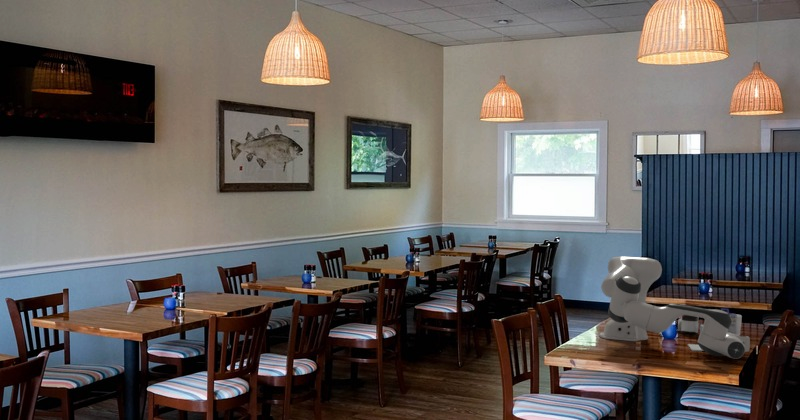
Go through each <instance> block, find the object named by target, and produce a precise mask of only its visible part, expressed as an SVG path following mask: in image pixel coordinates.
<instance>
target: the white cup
mask: <svg viewBox="0 0 800 420" xmlns="http://www.w3.org/2000/svg"><path fill="white" fill-rule="evenodd" d="M735 314H736V313H735ZM736 315H737V321H736V335H741V330H742V329H741V328H742V317H743V316H742V315H741V314H736Z"/></svg>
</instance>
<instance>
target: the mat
mask: <svg viewBox="0 0 800 420" xmlns="http://www.w3.org/2000/svg"><path fill="white" fill-rule="evenodd" d="M687 347H688V348H689V347H690V348H689V349H690V350H691V351H692V352H702V351H703V350H702V349H701V348H700V347H699V345H698V344H693V343H688V344H687Z"/></svg>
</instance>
